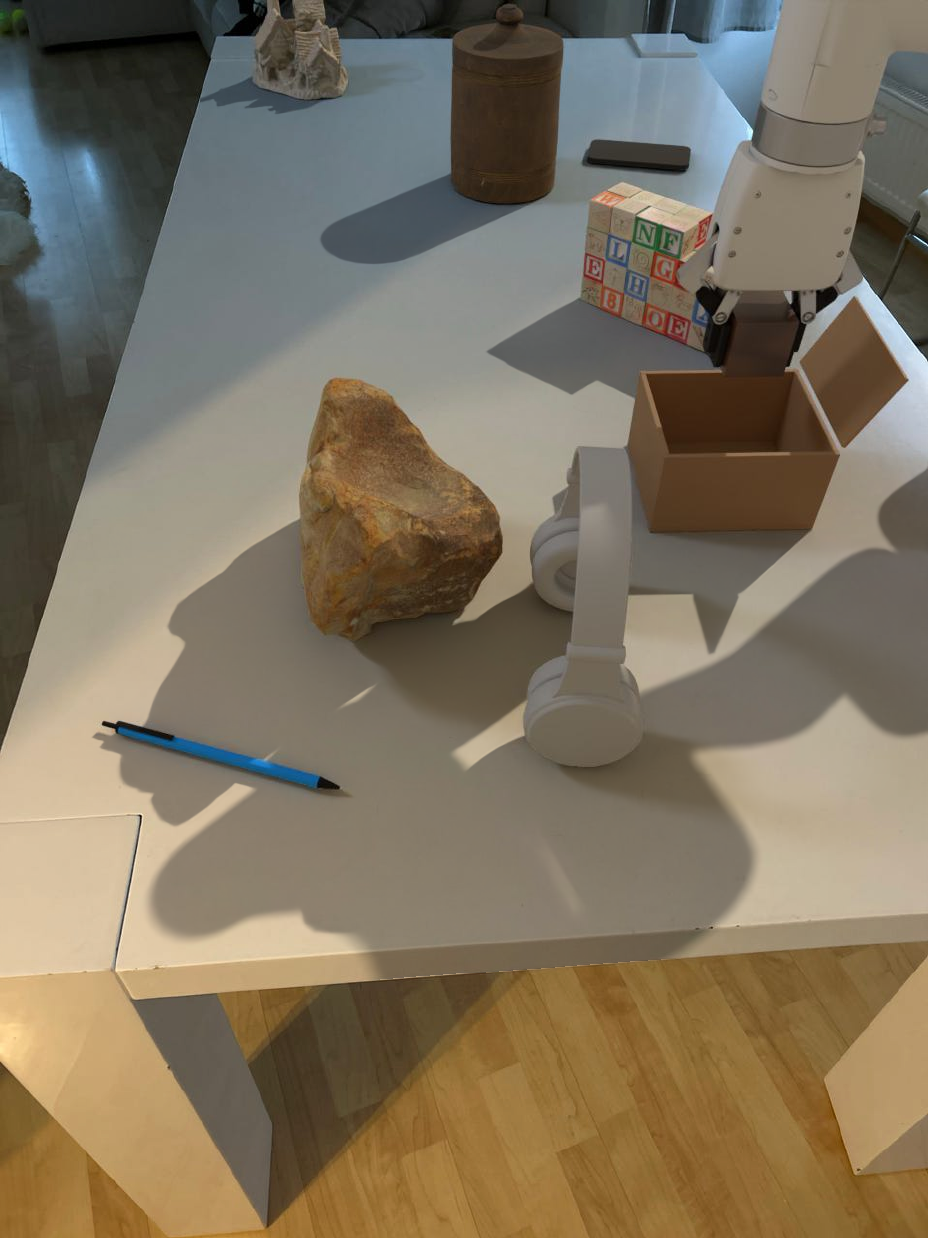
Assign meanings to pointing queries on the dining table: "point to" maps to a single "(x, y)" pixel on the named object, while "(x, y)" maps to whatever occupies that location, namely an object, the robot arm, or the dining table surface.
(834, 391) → the flap
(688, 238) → the stack of blocks
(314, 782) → the pen
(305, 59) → the ceramic cottage
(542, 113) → the wooden container
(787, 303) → the block
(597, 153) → the phone
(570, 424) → the dining table surface
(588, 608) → the headphones
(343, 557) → the rough brown rock
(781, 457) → the carton
